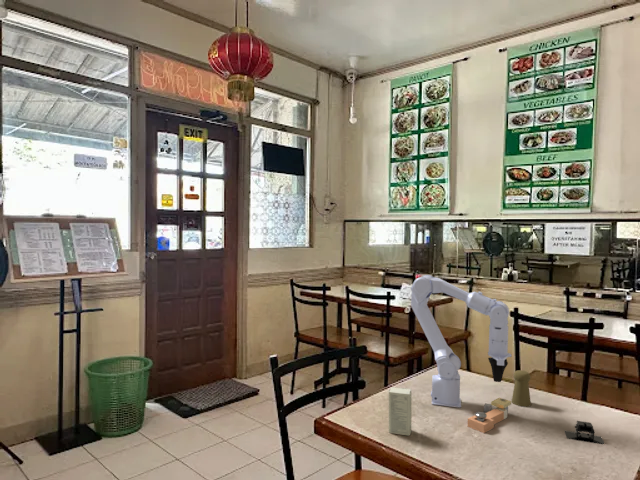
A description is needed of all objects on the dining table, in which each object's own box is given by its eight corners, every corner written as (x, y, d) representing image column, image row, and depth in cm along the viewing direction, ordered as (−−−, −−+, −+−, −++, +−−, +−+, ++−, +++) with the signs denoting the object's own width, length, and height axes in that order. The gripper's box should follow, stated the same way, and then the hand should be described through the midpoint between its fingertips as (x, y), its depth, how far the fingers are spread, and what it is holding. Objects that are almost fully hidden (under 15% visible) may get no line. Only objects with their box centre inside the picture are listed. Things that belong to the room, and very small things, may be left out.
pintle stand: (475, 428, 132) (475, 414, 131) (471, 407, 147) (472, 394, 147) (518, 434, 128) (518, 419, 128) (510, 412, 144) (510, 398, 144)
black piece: (561, 440, 126) (562, 424, 126) (558, 430, 133) (558, 414, 133) (612, 449, 122) (613, 432, 122) (606, 437, 128) (607, 422, 128)
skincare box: (411, 430, 130) (412, 389, 130) (409, 436, 126) (410, 394, 126) (390, 426, 132) (391, 386, 132) (387, 433, 128) (388, 391, 128)
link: (484, 433, 129) (484, 424, 129) (467, 426, 133) (467, 418, 133) (510, 418, 139) (511, 411, 139) (494, 413, 143) (494, 405, 143)
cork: (527, 400, 155) (527, 368, 154) (533, 407, 149) (534, 374, 148) (509, 399, 155) (509, 368, 155) (514, 406, 149) (515, 373, 149)
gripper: (515, 346, 136) (514, 390, 136) (508, 335, 150) (507, 375, 150) (490, 344, 138) (489, 387, 138) (486, 333, 152) (485, 373, 152)
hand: (497, 381), depth 144 cm, fingers closed
